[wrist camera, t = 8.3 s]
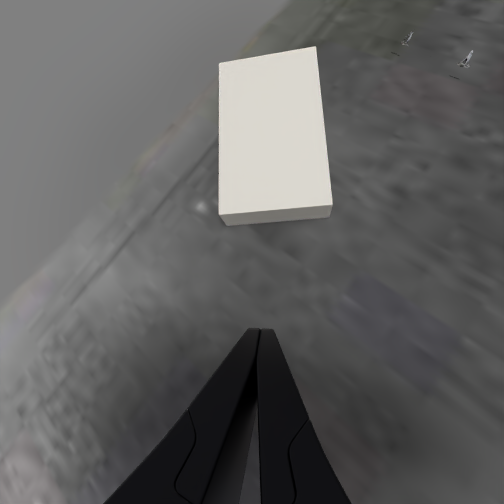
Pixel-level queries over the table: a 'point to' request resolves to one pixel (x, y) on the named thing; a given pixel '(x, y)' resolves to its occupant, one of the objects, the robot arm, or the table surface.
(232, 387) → the robot arm
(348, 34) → the table surface
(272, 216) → the tile
